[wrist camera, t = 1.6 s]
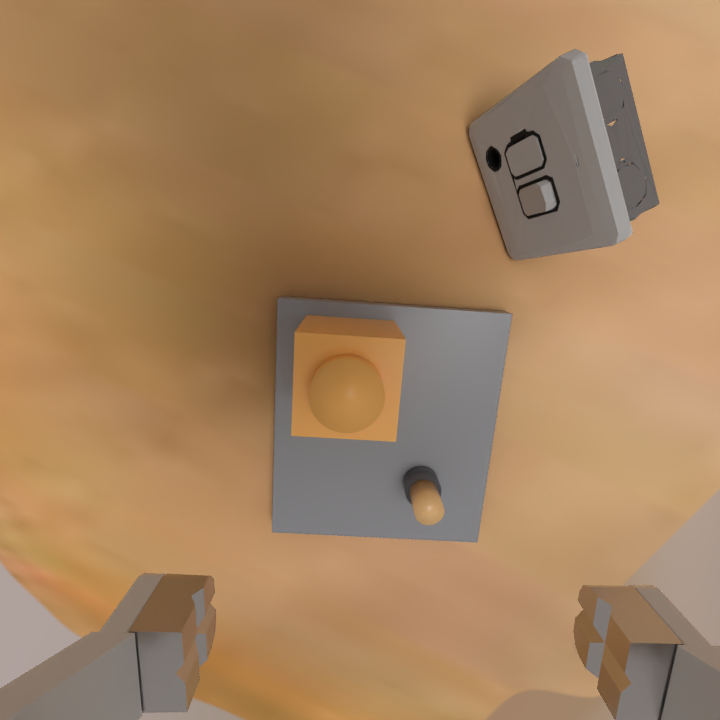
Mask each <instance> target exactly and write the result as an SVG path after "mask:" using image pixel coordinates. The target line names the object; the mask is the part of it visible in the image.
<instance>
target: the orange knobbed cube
mask: <svg viewBox="0 0 720 720" xmlns="http://www.w3.org/2000/svg"><path fill="white" fill-rule="evenodd" d="M405 343H406V339H405V337H404V335H403V334H402V332H401V330H400V329H399V327H398V325H397V324H396V322H395V321H391V320H376V319H361V318H346V317H331V316H316V315H306V317H305V318H304V320H303V321H302V322H301V324H300V325H299V327H298V328H297V330H296V331H295V338H294V367H293V397H292V426H291V436H302V437H320V438H337V439H355V440H372V441H390V442H396V437H397V427H398V416H399V406H400V396H401V385H402V375H403V364H404V354H405Z"/></svg>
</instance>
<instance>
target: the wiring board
mask: <svg viewBox="0 0 720 720" xmlns="http://www.w3.org/2000/svg"><path fill="white" fill-rule="evenodd" d="M306 315H316V316H331V317H346V318H361V319H376V320H391V321H395V322H396V324H397V325H398V327H399V329H400V330H401V332H402V334H403V335H404V337H405V339H406V343H405V354H404V364H403V375H402V385H401V396H400V406H399V416H398V427H397V437H396V442H390V441H372V440H355V439H337V438H320V437H302V436H291V426H292V397H293V367H294V338H295V331H296V330H297V328H298V327H299V325H300V324H301V322H302V321H303V320H304V318H305V317H306ZM511 319H512V314H511V313H509V312H506V311H497V310H482V309H468V308H453V307H438V306H423V305H408V304H393V303H379V302H364V301H349V300H334V299H319V298H305V297H290V296H280V297H279V298H278V304H277V346H276V387H275V429H274V470H273V512H272V532H278V533H298V534H318V535H338V536H358V537H378V538H398V539H418V540H438V541H458V542H477V541H478V535H479V528H480V521H481V515H482V508H483V502H484V495H485V489H486V482H487V476H488V469H489V463H490V456H491V450H492V443H493V436H494V430H495V423H496V417H497V410H498V404H499V397H500V391H501V384H502V378H503V371H504V365H505V358H506V351H507V345H508V338H509V332H510V325H511Z"/></svg>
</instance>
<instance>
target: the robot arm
mask: <svg viewBox="0 0 720 720" xmlns="http://www.w3.org/2000/svg"><path fill="white" fill-rule="evenodd" d="M214 593H215V587H214V579H213V577H212V576H203V575H183V574H154V573H144V574H142V575H140V576H139V577H138V578H137V579H136V581H135V582H134V583H133V585H132V586H131V588H130V589H129V591H128V592H127V593H126V595H125V596H124V598H123V599H122V600H121V602H120V603H119V605H118V606H117V608H116V609H115V610H114V612H113V613H112V615H111V616H110V617H109V619H108V620H107V622H106V623H105V625H104V626H103V627H102V629H101V630H100V632H91V633H89V634H88V635H86V636H84V637H83V638H81V639H80V640H78V641H77V642H75V643H73V644H72V645H70V646H68V647H67V648H65V649H64V650H62V651H60V652H59V653H57V654H55V655H54V656H52V657H51V658H49V659H47V660H46V661H44V662H42V663H41V664H39V665H38V666H36V667H34V668H33V669H31V670H30V671H28V672H26V673H25V674H23V675H21V676H20V677H18V678H17V679H15V680H13V681H12V682H10V683H8V684H7V685H5V686H4V687H2V688H0V720H138V719H139V718H140V717H141V716H142V713H152V712H153V713H154V712H187V711H188V709H189V706H190V703H191V701H192V698H193V696H194V693H195V691H196V688H197V685H198V683H199V680H200V677H199V666H201V665H202V664H203V663H204V662H205V661H207V659H208V656H209V654H210V651H211V648H212V644H213V639H214V635H215V628H216V609H215V608H214V607H213V606H212V605H211V600H212V598H213V595H214ZM578 602H579V603H580V605H581V606H582V608H583V611H582V612H581V613H580V614H579V615H578V616H577V617H576V618H575V624H574V638H575V645H576V648H577V651H578V654H579V657H580V659H581V660H582V662H583V664H584V666H585V668H586V669H587V670H589V671H590V672H591V673H592V674H594V675H595V676H596V677H598V678H599V680H598V686H597V689H598V691H599V693H600V695H601V696H602V698H603V700H604V702H605V703H606V705H607V707H608V709H609V710H610V712H611V714H612V716H613V718H614V719H615V720H720V646H711V645H710V644H709V642H708V641H707V640H706V639H705V638H704V637H703V636H702V635H701V634H700V633H699V632H698V631H697V630H696V629H695V627H694V626H693V625H692V624H691V623H690V622H689V621H688V620H687V619H686V618H685V617H684V616H683V614H682V613H681V612H680V611H679V610H678V609H677V608H676V607H675V606H674V605H673V604H672V603H671V602H670V601H669V600H668V598H667V597H666V596H665V595H664V594H663V593H662V592H661V591H660V590H659V589H658V588H656V587H654V586H653V585H629V586H611V585H583V586H582V588H581V589H580V592H579V597H578Z"/></svg>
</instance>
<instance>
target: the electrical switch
mask: <svg viewBox="0 0 720 720" xmlns="http://www.w3.org/2000/svg"><path fill="white" fill-rule="evenodd" d="M619 79H621V82H620V80H619ZM604 119H605V120H604ZM614 120H616V122H615V123H614V125H613V126H608V125H607V124H609V123H611V122H613V121H614ZM469 138H470V141H471V144H472V147H473V150H474V153H475V156H476V159H477V162H478V165H479V168H480V171H481V174H482V177H483V180H484V183H485V186H486V189H487V192H488V195H489V198H490V201H491V204H492V207H493V210H494V213H495V216H496V219H497V222H498V225H499V227H500V230H501V233H502V236H503V239H504V242H505V245H506V248H507V251H508V254H509V256H510V257H511V258H513V259H514V260H523V259H530V258H537V257H543V256H550V255H556V254H562V253H569V252H575V251H582V250H588V249H595V248H601V247H608V246H613V245H615V244H617V243H620V242H622V241H624V240H626V239H627V238H628V237H629V236H630V235H631V234H632V233H633V232H632V228H631V224H630V221H631V220H634V219H636V218H637V217H638V216H639V215H640V214H641V213H643V212H645V211H647V210H649V209H651V208H653V207H655V206H656V205H658V204H659V200H658V196H657V192H656V188H655V184H654V180H653V175H652V171H651V167H650V163H649V159H648V155H647V151H646V147H645V143H644V139H643V135H642V131H641V127H640V122H639V118H638V114H637V110H636V106H635V102H634V98H633V94H632V90H631V86H630V82H629V78H628V74H627V69H626V65H625V61H624V57H623V53H621V54H619V55H618V54H616V55H614V56H612V57H609V58H607V59H605V60H603V61H593V62H591V63H589V61H588V57H587V53H584V52H582V51H579V50H577V49H573V50H572V51H570V52H568V53H565V54H563V55H561V56H559V57H558V58H557V59H555V60H554V61H553V62H551V63H550V64H549V65H547V66H546V67H545V68H543V69H542V70H541V71H540V72H538V73H537V74H536V75H534V76H533V77H532V78H530V79H529V80H528V81H526V82H525V83H524V84H522V85H521V86H520V87H518V88H517V89H516V90H514V91H513V92H512V93H510V94H509V95H508V96H506V97H505V98H504V99H503V100H501V101H500V102H499V103H497V104H496V105H495V106H493V107H492V108H491V109H489V110H488V111H487V112H485V113H484V114H483V115H481V116H480V117H479V118H477V119H476V120H475V121H473V122H472V123H471V124H470V128H469ZM621 158H626V159H624V160H622V161H620V160H621ZM630 163H631V164H630ZM628 164H630V165H628ZM617 172H618V173H617ZM642 198H643V199H642ZM641 199H642V200H641ZM626 206H627V207H626Z"/></svg>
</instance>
